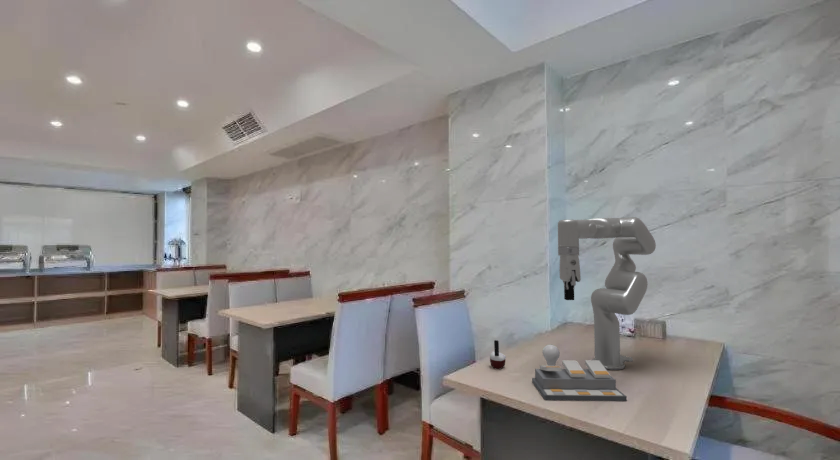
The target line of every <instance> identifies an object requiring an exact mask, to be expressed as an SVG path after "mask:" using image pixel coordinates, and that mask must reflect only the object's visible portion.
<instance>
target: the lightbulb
mask: <svg viewBox="0 0 840 460" xmlns="http://www.w3.org/2000/svg"><path fill="white" fill-rule="evenodd" d="M542 356H543V358H544V360H545V361H546V366H557V365H556V364H557V361H558V359H559V358H560V349H559V348H558V347H557V346H556V345H554V344H546V345H545V346H544V347H543V349H542Z"/></svg>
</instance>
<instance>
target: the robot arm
mask: <svg viewBox="0 0 840 460" xmlns="http://www.w3.org/2000/svg"><path fill="white" fill-rule="evenodd" d="M581 239H582V240H583V239H585V240H586V239H594V240H596V239H614V240H613V241H612V249H613V254H614V260H615V261H614V264H613V266H612V268H611V269H610V270H609V273H608V274H607V275H606V278H605V281H604V286H605V288H603V287H602V288H597V289H595V290H593V292H592V293H591V295H590V302H591V307H592V311H593V312H592V313H593V324H594V325H593V329H594V330H593V331H594V333H593V334H594V337H593V338H594V341H593V342H594V358H591V360H599V361H600V362H601V364H602V365H603V366H604V368H605V369H606V370H610V371H613V370H615V371H618V370H619V371H620V370H623V369H625V363H626V362H627V363H633V362H634V361H633V360H634V359H633V357H632V356H626V355H622V354H621V335H620V334H621V331H620V330H621V329H620V328H621V327H620V326H621V325H620V321H619V318H618V316H617V314H620V315H624V316H631V315H633V314H634V313H636V311H637V310H638V307H639V306H640V304H641V302H642V300H643V298H644V296H645V294H646V292H647V290H648V284H649V283H648V279H647V276H646V275H645V274H644V273H642V272H639V271H636V269H637V267H636V265H637V264H636V263H635V261H634V260H633V259H632V258H631V256H630V255H634V256H636V255H641V256H646V255H648V256H649V255H652V254H653V253H654V252H655V251H656V246H657V245H656V240H655V238H654V237H653V235H652V233H651V232H650V229H648V227H647V225H646V224H645V223H644V222H643V221H642V220H641V219H640V218H638V217H636V216H635V217H634V216H629V217H602V218H601V217H600V218H599V217H598V218H590V219H586V218H585V219H560V220H558V222H557V255H558V256H559V278H560V280H561V281H562V283H563V293H564V294H563V295H564V297H563V299H564V300H565V301H575V286H576V285H577V283H580V282H581V279H582V278H581V264H580V258H579V256H580V240H581ZM576 282H577V283H576Z"/></svg>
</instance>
